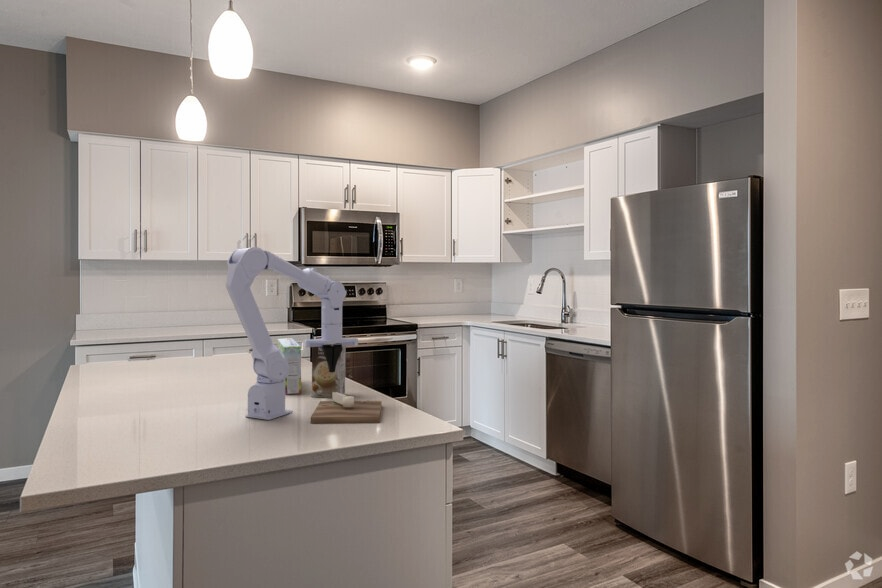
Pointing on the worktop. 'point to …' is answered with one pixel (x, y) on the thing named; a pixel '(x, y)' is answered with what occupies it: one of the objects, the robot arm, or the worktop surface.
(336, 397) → the white bulb ended bar
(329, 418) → the board
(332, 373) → the coffee box
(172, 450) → the worktop surface
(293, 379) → the snack box
